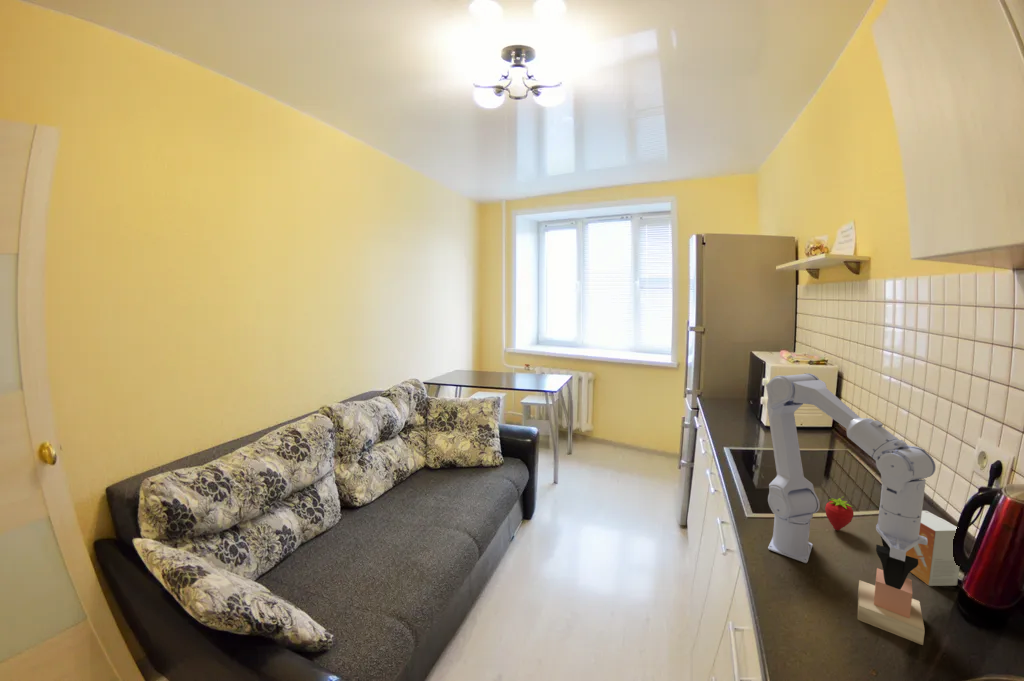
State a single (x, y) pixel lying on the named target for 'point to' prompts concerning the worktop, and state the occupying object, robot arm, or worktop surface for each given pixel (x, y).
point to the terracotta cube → (893, 596)
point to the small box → (935, 552)
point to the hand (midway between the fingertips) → (892, 575)
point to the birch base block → (890, 616)
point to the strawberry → (839, 513)
